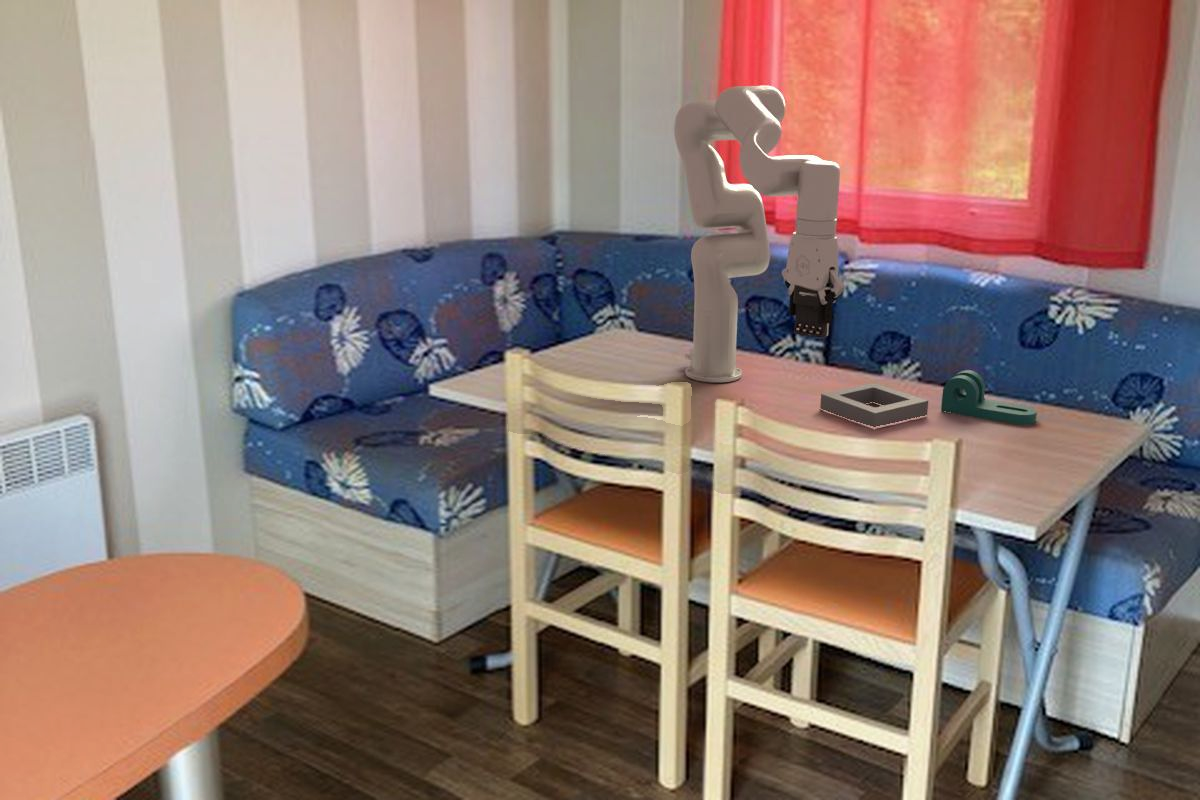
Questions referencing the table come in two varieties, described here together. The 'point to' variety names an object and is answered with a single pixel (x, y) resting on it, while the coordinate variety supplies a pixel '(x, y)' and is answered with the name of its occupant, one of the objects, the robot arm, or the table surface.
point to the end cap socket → (894, 401)
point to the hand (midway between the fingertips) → (809, 318)
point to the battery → (808, 313)
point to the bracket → (981, 401)
